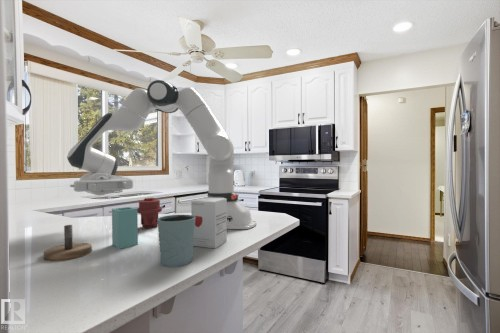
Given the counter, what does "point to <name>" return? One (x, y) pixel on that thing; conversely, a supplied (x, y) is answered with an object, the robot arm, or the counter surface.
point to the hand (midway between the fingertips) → (111, 186)
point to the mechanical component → (149, 212)
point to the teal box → (124, 227)
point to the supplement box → (209, 221)
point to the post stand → (67, 248)
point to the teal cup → (176, 239)
